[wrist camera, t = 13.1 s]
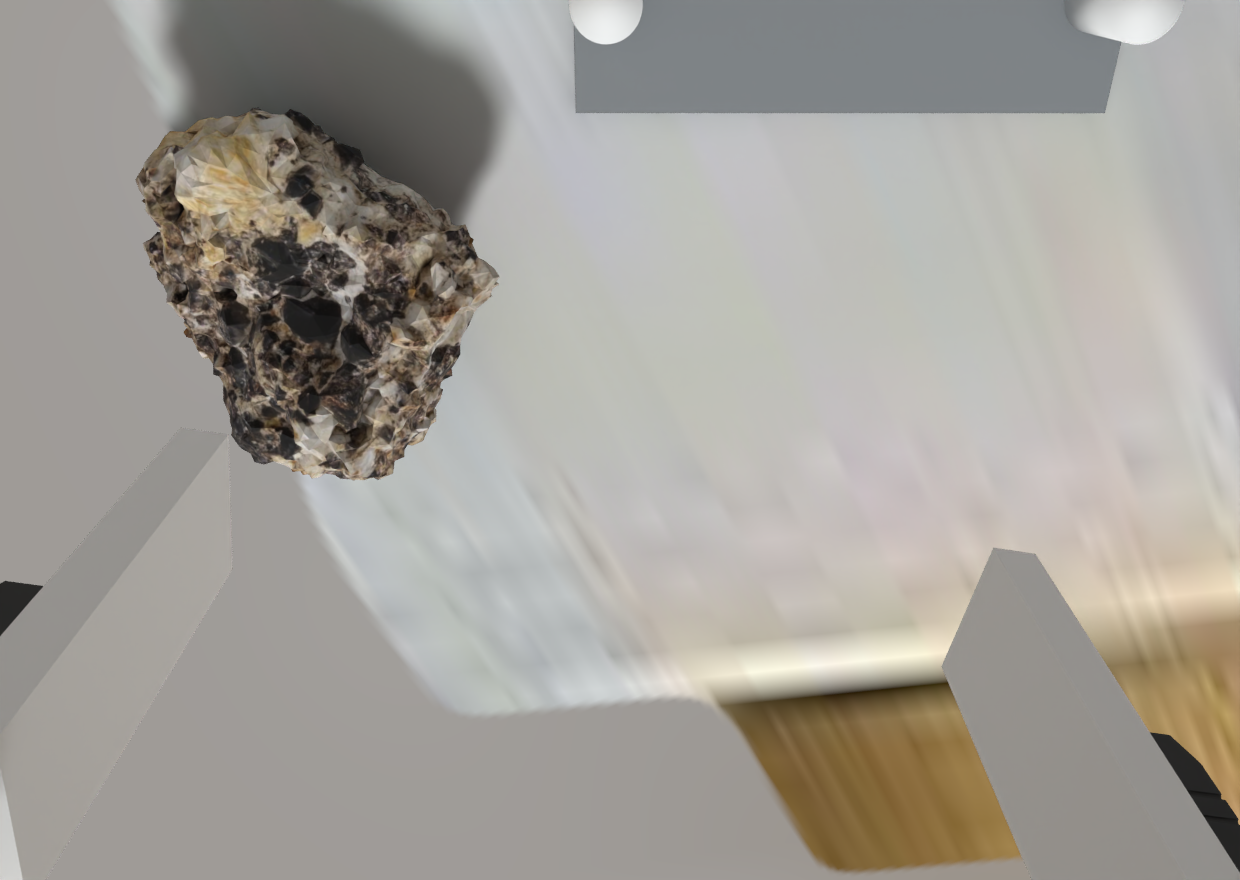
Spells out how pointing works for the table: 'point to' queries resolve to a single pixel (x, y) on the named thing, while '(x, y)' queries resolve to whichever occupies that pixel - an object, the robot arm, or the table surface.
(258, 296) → the mineral specimen
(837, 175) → the table surface
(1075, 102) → the board
